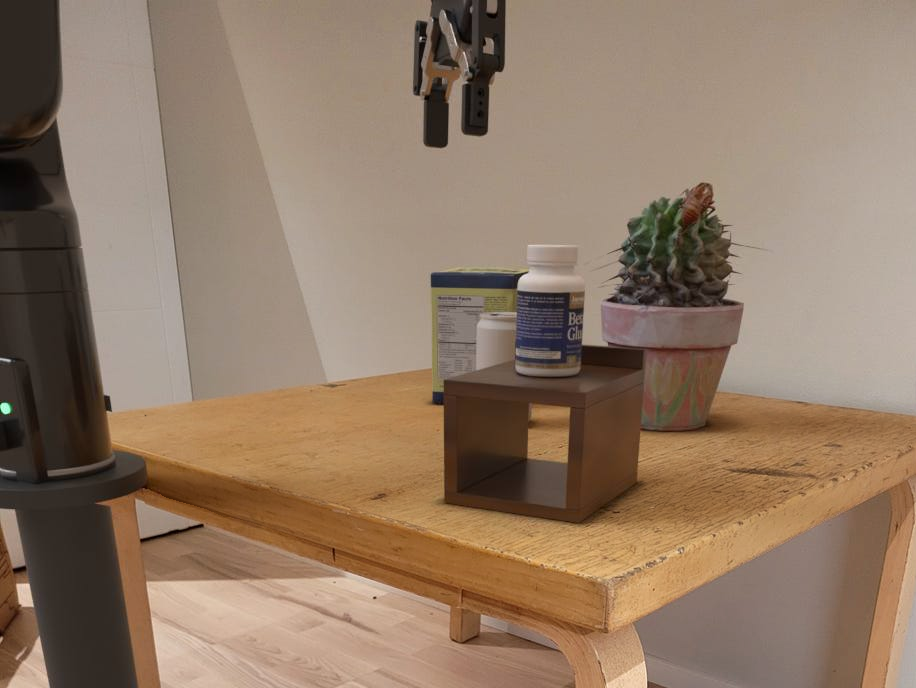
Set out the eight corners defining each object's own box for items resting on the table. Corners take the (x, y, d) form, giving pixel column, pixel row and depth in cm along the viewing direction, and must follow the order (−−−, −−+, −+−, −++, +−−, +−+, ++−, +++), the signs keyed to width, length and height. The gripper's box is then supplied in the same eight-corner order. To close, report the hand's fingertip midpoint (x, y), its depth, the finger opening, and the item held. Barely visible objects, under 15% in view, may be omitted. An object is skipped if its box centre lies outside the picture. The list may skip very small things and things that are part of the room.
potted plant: (656, 400, 124) (673, 187, 113) (775, 427, 109) (807, 184, 98) (544, 414, 114) (552, 183, 104) (657, 446, 100) (679, 180, 89)
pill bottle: (577, 379, 76) (584, 246, 72) (510, 377, 77) (513, 245, 73) (583, 369, 81) (589, 244, 77) (519, 367, 82) (523, 243, 78)
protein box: (534, 388, 132) (538, 267, 126) (512, 408, 118) (515, 273, 112) (460, 385, 134) (460, 265, 128) (430, 404, 120) (428, 271, 114)
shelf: (578, 523, 74) (586, 370, 70) (444, 502, 79) (443, 358, 75) (636, 482, 86) (646, 348, 81) (515, 467, 91) (518, 339, 86)
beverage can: (490, 416, 114) (491, 309, 109) (540, 421, 111) (543, 312, 106) (466, 425, 108) (466, 314, 103) (517, 431, 106) (520, 317, 101)
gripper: (387, -59, 84) (386, 147, 89) (452, -117, 72) (447, 125, 77) (465, -43, 87) (460, 155, 93) (540, -96, 75) (529, 135, 80)
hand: (454, 141), depth 85 cm, fingers open, 8 cm apart
